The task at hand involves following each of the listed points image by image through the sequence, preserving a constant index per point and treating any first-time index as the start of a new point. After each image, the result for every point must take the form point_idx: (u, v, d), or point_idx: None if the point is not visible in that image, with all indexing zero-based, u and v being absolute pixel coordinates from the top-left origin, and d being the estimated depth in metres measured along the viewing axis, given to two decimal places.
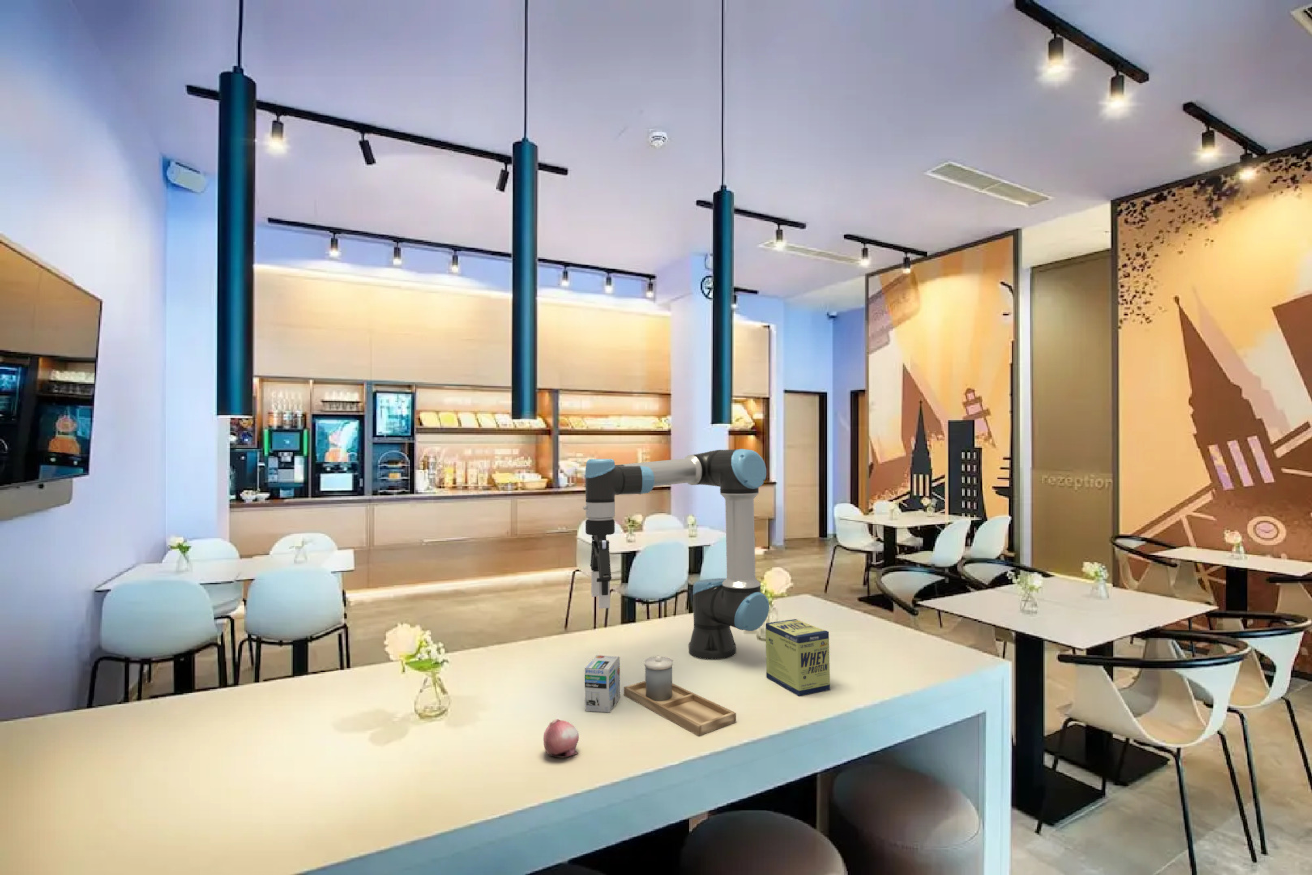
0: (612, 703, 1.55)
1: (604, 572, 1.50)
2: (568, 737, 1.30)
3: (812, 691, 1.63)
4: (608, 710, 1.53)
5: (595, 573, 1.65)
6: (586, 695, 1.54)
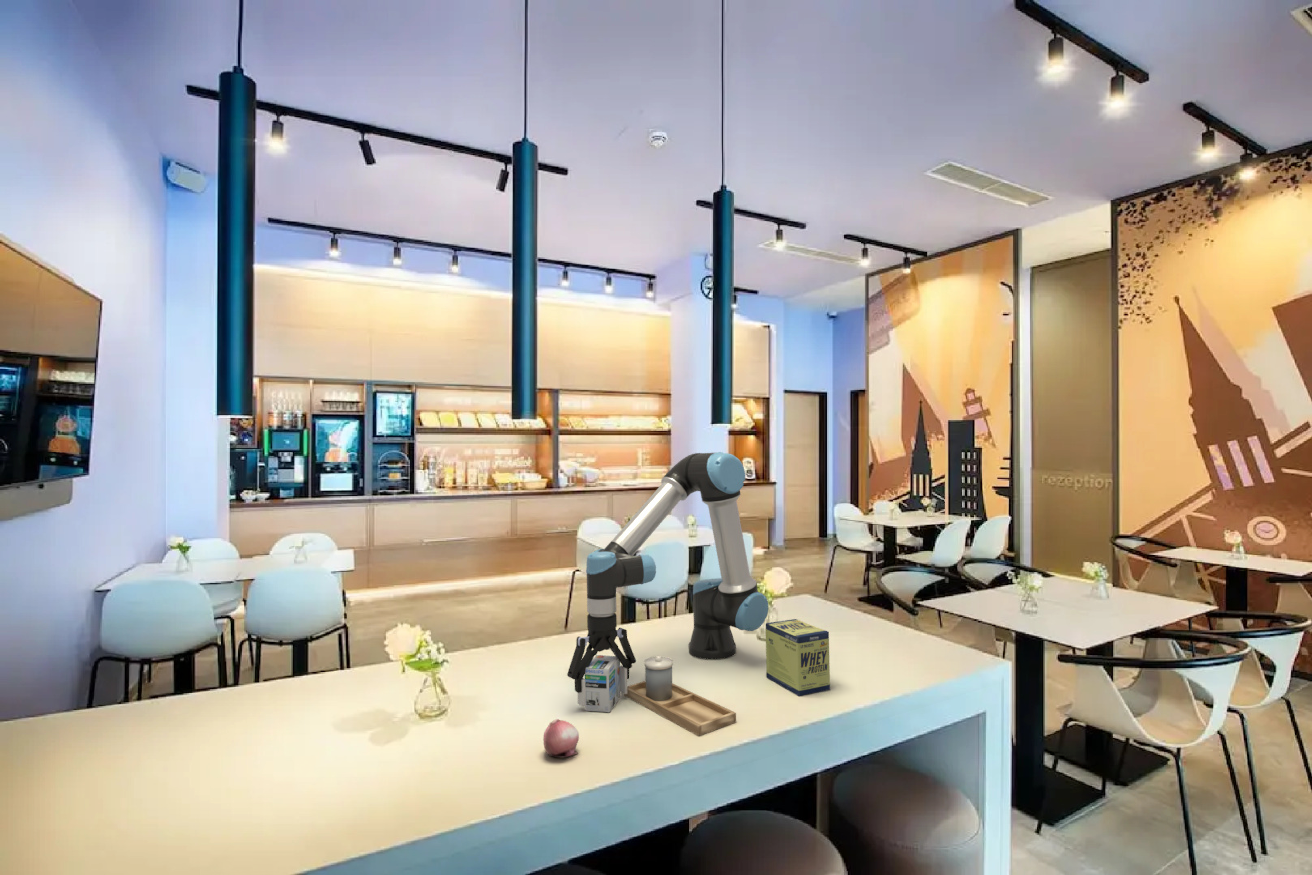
0: (612, 703, 1.55)
1: (570, 670, 1.54)
2: (568, 737, 1.30)
3: (812, 691, 1.63)
4: (608, 710, 1.53)
5: (621, 668, 1.63)
6: (586, 695, 1.54)
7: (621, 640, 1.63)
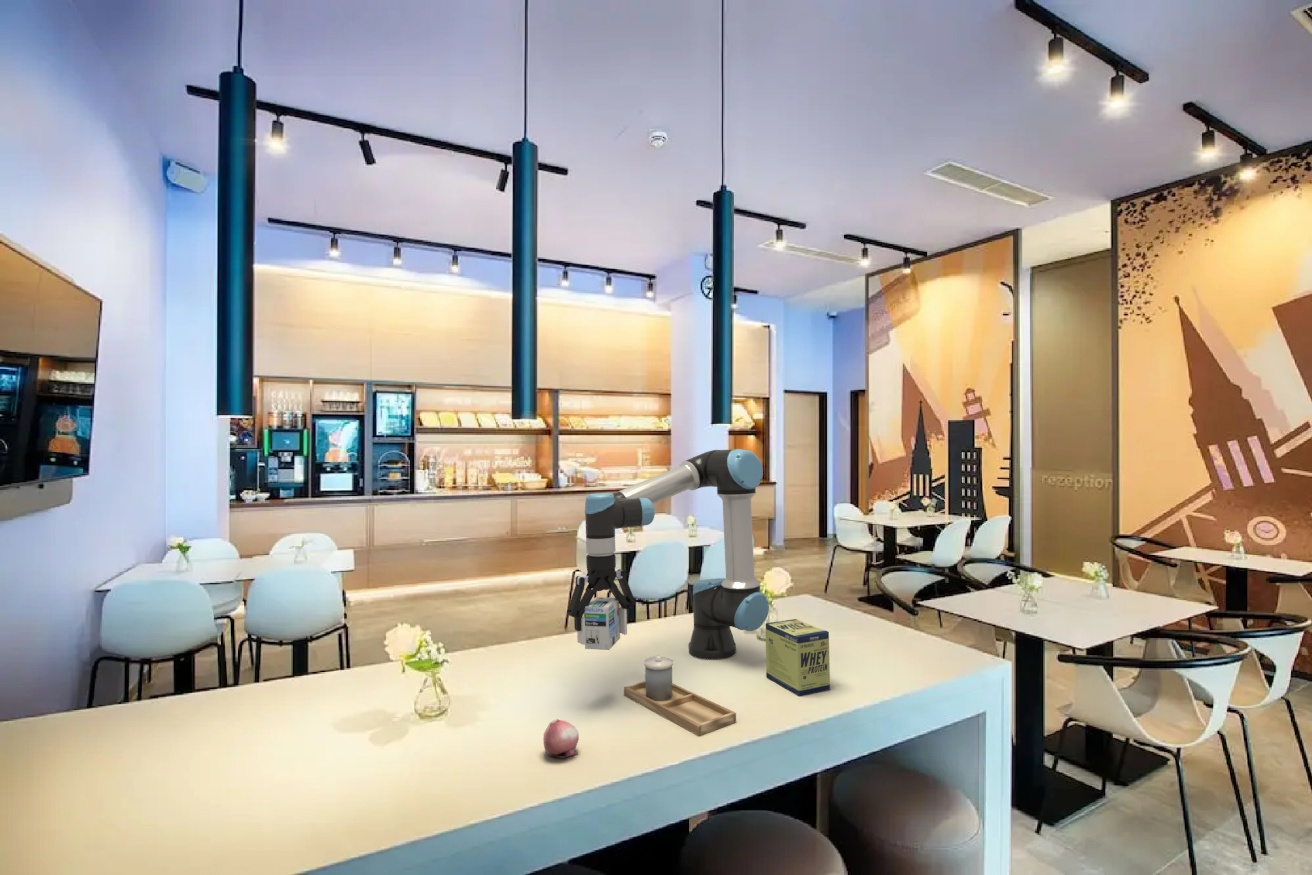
0: (612, 641, 1.56)
1: (570, 608, 1.54)
2: (568, 737, 1.30)
3: (812, 691, 1.63)
4: (608, 648, 1.53)
5: (620, 610, 1.63)
6: (586, 633, 1.55)
7: (621, 582, 1.63)
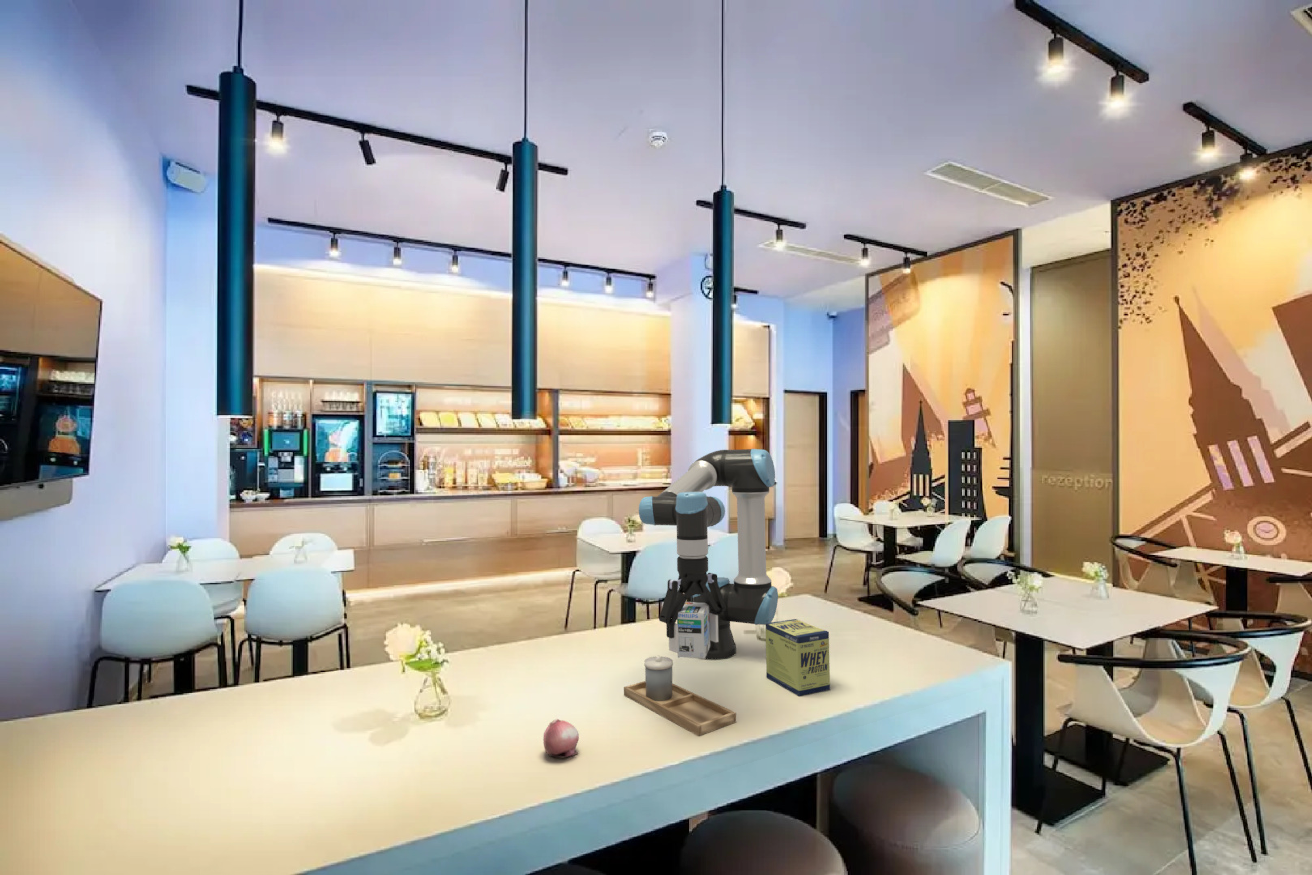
0: (706, 649, 1.46)
1: (662, 614, 1.45)
2: (568, 737, 1.30)
3: (812, 691, 1.63)
4: (703, 656, 1.44)
5: (710, 616, 1.54)
6: (679, 641, 1.45)
7: (711, 586, 1.54)
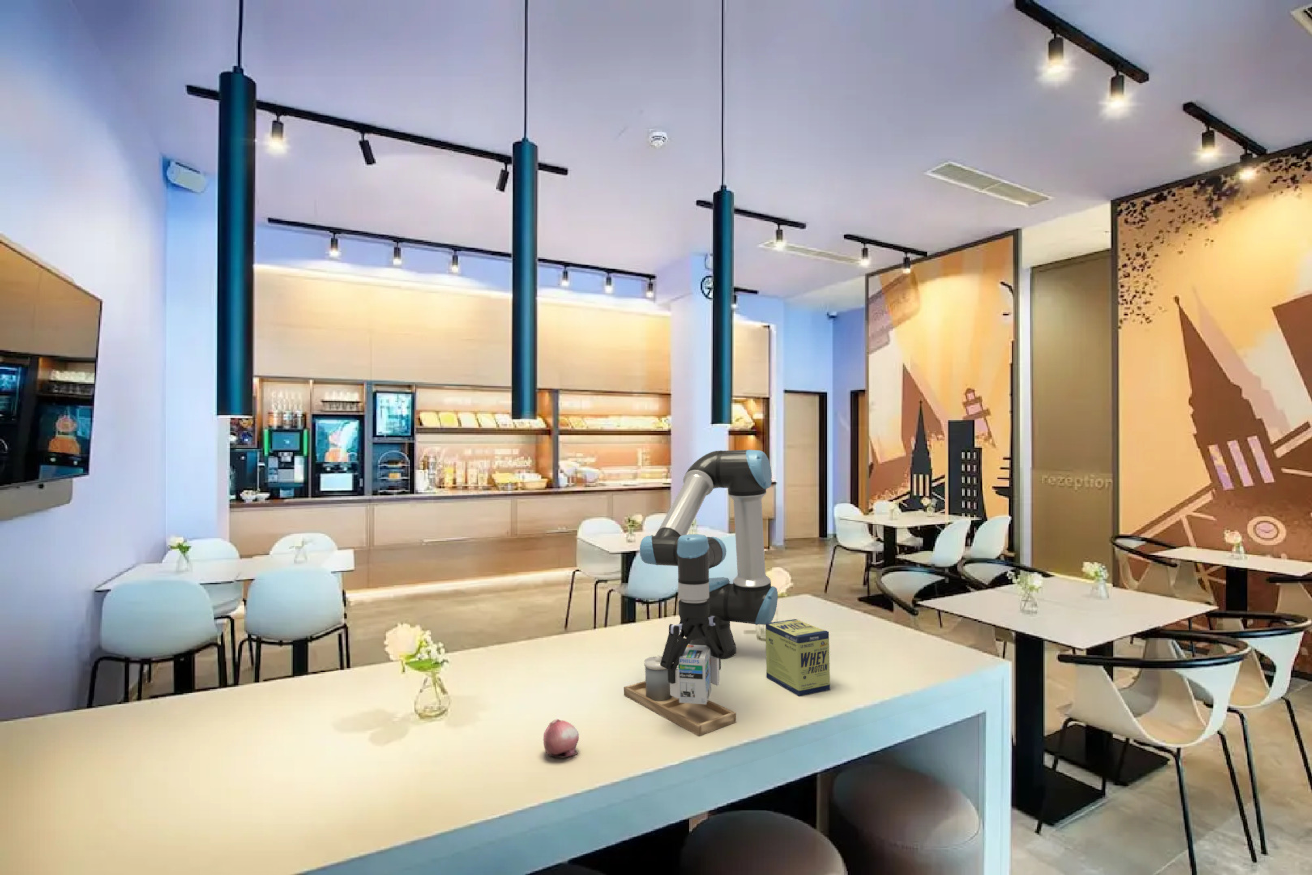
0: (707, 695, 1.46)
1: (664, 659, 1.44)
2: (568, 737, 1.30)
3: (812, 691, 1.63)
4: (704, 702, 1.44)
5: (712, 659, 1.53)
6: (680, 686, 1.45)
7: (713, 629, 1.53)
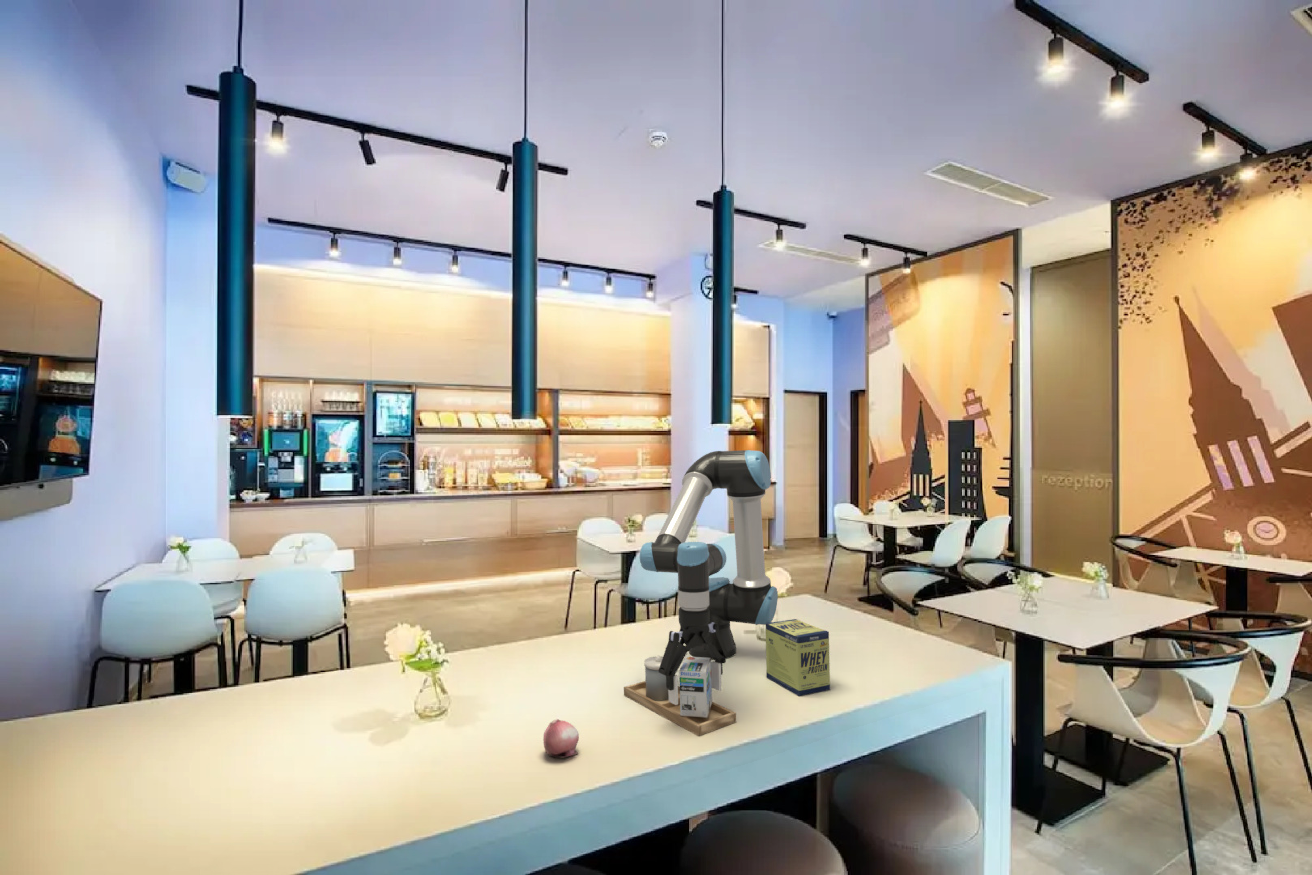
0: (708, 707, 1.46)
1: (662, 666, 1.44)
2: (568, 737, 1.30)
3: (812, 691, 1.63)
4: (706, 715, 1.44)
5: (714, 664, 1.54)
6: (681, 699, 1.45)
7: (713, 635, 1.53)
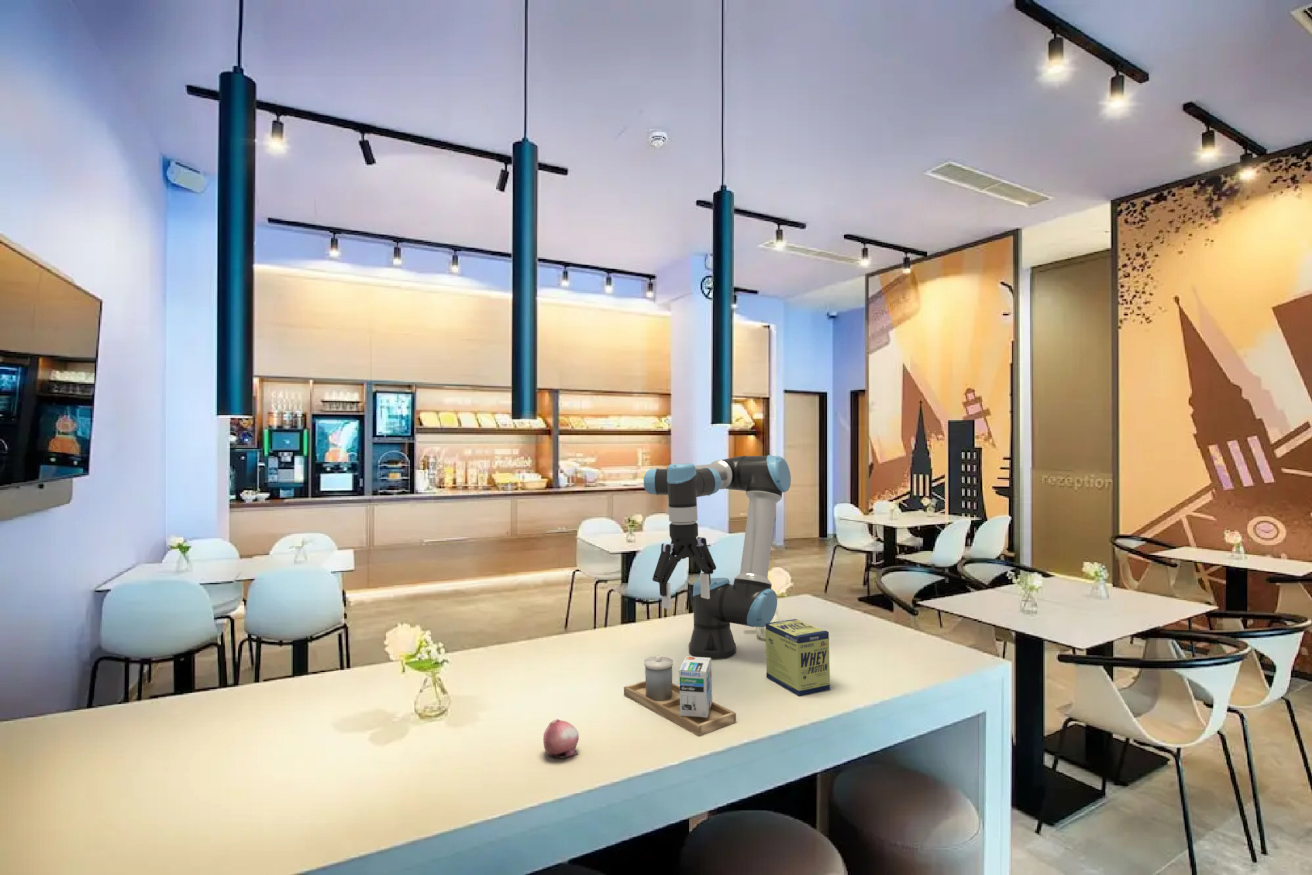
0: (708, 707, 1.46)
1: (656, 574, 1.57)
2: (568, 737, 1.30)
3: (812, 691, 1.63)
4: (706, 715, 1.44)
5: (702, 575, 1.67)
6: (681, 699, 1.45)
7: (701, 549, 1.67)
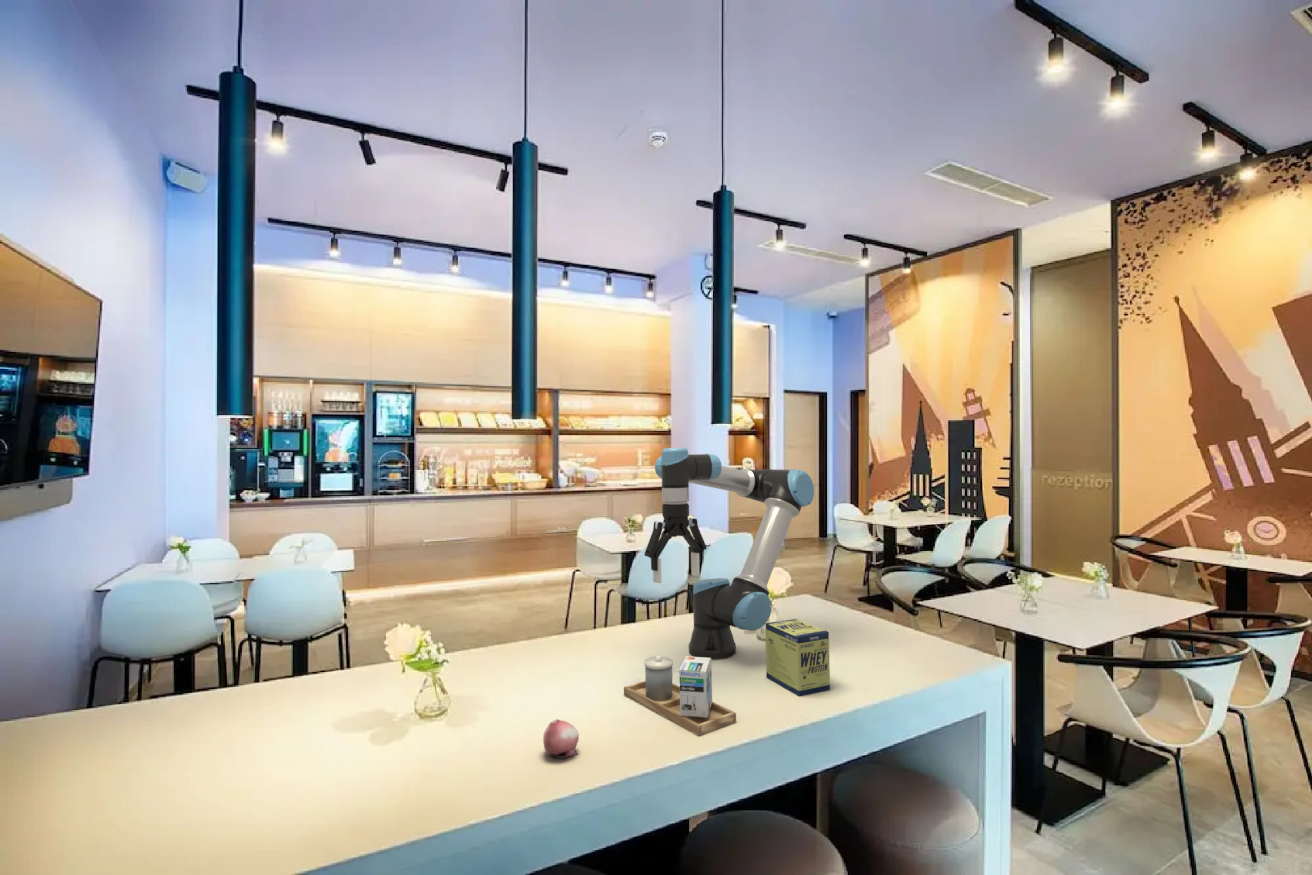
0: (708, 707, 1.46)
1: (648, 549, 1.68)
2: (568, 737, 1.30)
3: (812, 691, 1.63)
4: (706, 715, 1.44)
5: (693, 554, 1.77)
6: (681, 699, 1.45)
7: (693, 529, 1.77)
